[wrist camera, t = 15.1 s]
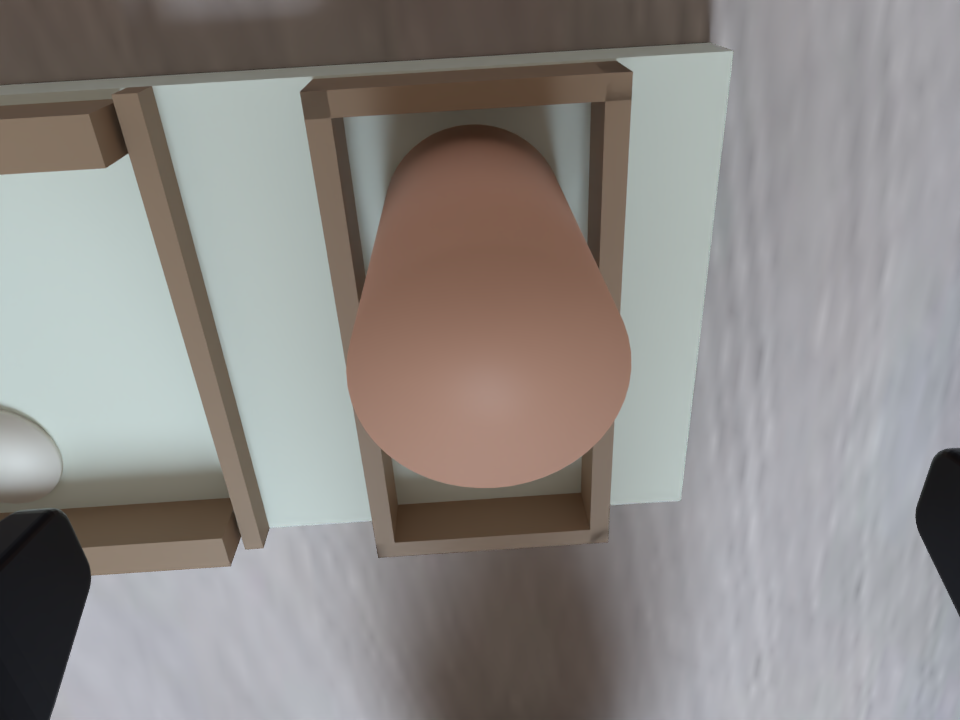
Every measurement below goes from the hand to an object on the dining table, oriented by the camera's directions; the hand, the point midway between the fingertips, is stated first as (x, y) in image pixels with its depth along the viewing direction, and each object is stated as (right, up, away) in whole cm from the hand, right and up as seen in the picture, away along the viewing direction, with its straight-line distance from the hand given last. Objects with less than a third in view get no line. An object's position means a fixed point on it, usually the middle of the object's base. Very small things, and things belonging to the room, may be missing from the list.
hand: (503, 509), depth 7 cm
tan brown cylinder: (0, +5, +9) cm, 10 cm away
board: (-7, +3, +11) cm, 13 cm away
